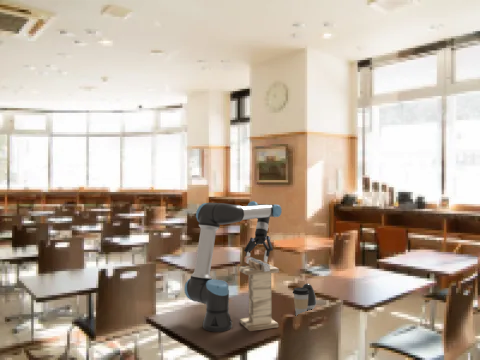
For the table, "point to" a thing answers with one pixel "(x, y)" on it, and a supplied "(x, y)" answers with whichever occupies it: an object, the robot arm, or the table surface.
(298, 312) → the coffee cup
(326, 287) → the table surface
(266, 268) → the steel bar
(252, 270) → the birch stand
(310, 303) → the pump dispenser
